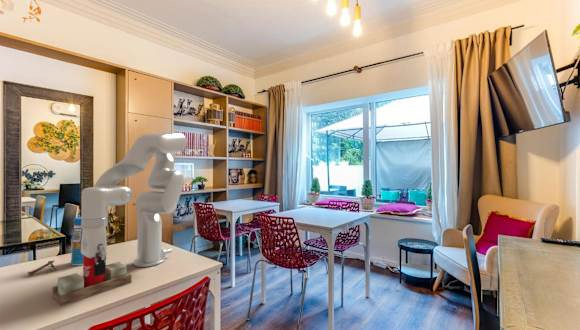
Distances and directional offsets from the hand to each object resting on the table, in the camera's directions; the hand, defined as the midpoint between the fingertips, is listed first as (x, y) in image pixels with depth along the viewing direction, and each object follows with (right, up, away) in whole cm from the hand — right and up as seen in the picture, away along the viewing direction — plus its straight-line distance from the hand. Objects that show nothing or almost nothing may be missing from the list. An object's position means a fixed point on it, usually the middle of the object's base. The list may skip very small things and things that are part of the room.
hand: (94, 271), depth 92 cm
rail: (0, -6, 0) cm, 6 cm away
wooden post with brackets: (-30, -6, +12) cm, 33 cm away
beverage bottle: (-23, -6, +23) cm, 33 cm away
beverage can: (0, -5, 0) cm, 5 cm away
